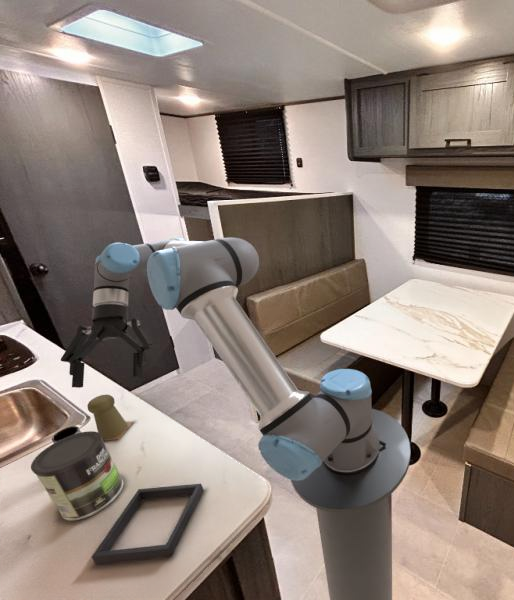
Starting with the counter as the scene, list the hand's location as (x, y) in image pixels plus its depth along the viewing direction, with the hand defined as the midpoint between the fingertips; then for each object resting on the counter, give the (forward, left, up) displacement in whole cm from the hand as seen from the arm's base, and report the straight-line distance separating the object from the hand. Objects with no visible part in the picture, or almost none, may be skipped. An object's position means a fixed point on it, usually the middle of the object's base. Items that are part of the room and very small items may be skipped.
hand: (108, 382), depth 84 cm
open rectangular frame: (-25, +31, -14) cm, 42 cm away
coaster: (+1, +4, -14) cm, 14 cm away
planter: (+1, +14, -14) cm, 20 cm away
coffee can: (-8, +23, -14) cm, 28 cm away
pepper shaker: (+1, +4, -14) cm, 14 cm away
